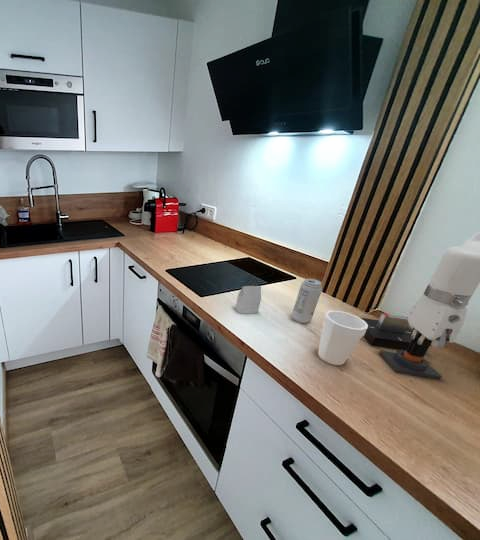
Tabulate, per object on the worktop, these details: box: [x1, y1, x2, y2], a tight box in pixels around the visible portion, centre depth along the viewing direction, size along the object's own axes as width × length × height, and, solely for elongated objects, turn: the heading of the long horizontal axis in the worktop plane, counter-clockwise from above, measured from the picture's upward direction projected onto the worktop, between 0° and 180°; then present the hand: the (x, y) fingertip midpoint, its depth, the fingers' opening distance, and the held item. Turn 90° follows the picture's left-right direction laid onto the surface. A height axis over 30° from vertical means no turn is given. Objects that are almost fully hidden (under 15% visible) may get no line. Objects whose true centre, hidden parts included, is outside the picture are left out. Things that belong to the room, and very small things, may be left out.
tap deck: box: [360, 317, 413, 350], centre depth 92 cm, size 14×12×3 cm
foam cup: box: [317, 310, 368, 366], centre depth 80 cm, size 10×9×13 cm
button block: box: [378, 349, 442, 381], centre depth 80 cm, size 10×8×3 cm
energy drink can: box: [291, 278, 323, 325], centre depth 98 cm, size 6×6×15 cm
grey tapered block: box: [235, 285, 262, 314], centre depth 103 cm, size 4×7×10 cm, turn 95°
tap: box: [376, 313, 410, 333], centre depth 90 cm, size 7×2×5 cm, turn 76°
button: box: [403, 351, 424, 363], centre depth 79 cm, size 4×4×2 cm
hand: (414, 353), depth 78 cm, fingers closed
